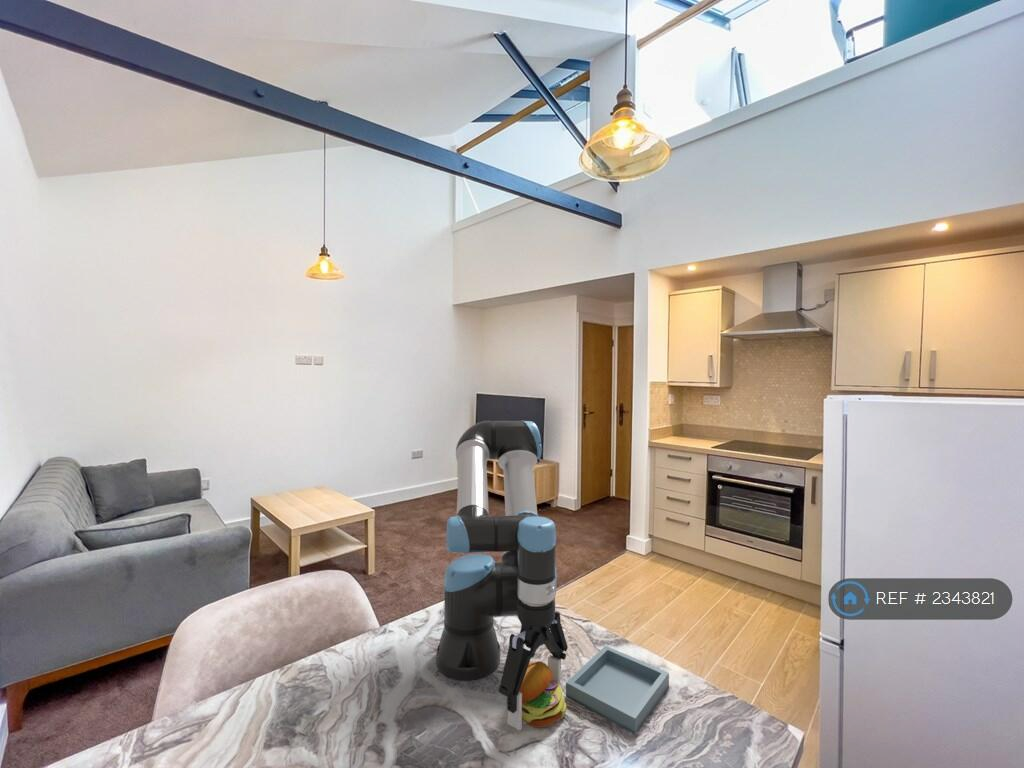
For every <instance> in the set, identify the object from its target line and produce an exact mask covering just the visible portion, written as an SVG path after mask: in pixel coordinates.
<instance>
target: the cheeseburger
mask: <svg viewBox="0 0 1024 768" xmlns="http://www.w3.org/2000/svg"><path fill="white" fill-rule="evenodd" d="M552 677H553V674H552V671H551V669H550V668H549V667H548V664H545V663H544V662H543V661H540V660H539V661H535V662H529V665H528V668H527V671H526V674H525V676H524V679H523V682H522V685H521V688H520V691H519V692H521V693H522V721H523V722H524V723H525V724H527V725H528V726H530V727H534V728H542V727H543V728H544V727H547V726H549V725H550V726H551V725H552V724H554V723H556V722H558V721H559V720H561V719H562V718H564V716H565V715H566V713H567V703H566V702H565V697H564V695H563V689H562V687H561V684H560V685H559V684H558V683H557V681H555V680H553V679H552ZM514 687H515V686H514Z"/></svg>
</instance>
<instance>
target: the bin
mask: <svg viewBox="0 0 1024 768" xmlns="http://www.w3.org/2000/svg"><path fill="white" fill-rule="evenodd" d="M669 687H670V672H669V671H665V670H664V669H662V668H659V667H656V666H654V665H652V664H650V663H648V662H645V661H643V660H640V659H639V658H638V659H637V658H635V657H633V656H630V655H629V654H626V653H623V652H622V651H619V650H617V649H615V648H612V647H609V645H604V646H603V647H602V648H601V649H599V651H598V652H597V653H595V655H594V656H592V657H591V658H590V659H589V660H588V661H587V662H586V663H585V664H584V665H583V666H582V667H581V668H580V669H579V670H578V671H577V672H575V674H574V675H572V677H570V678H569V679H568V680H567V681H566V682H565V698H567V699H568V700H571V701H572V702H574V703H576V704H578V705H580V706H582V707H583V708H585V709H587V710H589V711H590V712H592V713H594V714H596V715H598V716H600V717H602V718H604V719H605V720H607V721H609V722H610V723H612V724H615V725H616V726H618V727H620V728H622V729H624V730H626V731H627V732H629V733H631V734H632V735H634V736H636V734H637V733H638V731H639V730H640V729H641V727H642V726H643V724H645V721H646V720H647V718H649V715H651V714H652V711H653V710H654V708H655V707H656V706H657V705H658V704H659V701H660V700H661V699H662V697H663V696H664V695H665V693H666V691H667V690H668V689H669Z"/></svg>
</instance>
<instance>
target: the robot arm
mask: <svg viewBox="0 0 1024 768" xmlns="http://www.w3.org/2000/svg"><path fill="white" fill-rule="evenodd" d="M542 449H543V448H542V439H541V434H540V430H539V427H538V426H537V424H536V423H535V422H534V421H531V420H522V419H521V420H483V421H479V422H477V423H475V424H473V425H472V426H470V427H469V428H468V429H466V430H465V431H464V432H463V433H462V435H461V436H460V438H459V439H458V441H457V444H456V448H455V458H456V461H457V462H458V480H457V498H456V515H455V516H450V517H448V518H447V520H446V521H447V522H446V537H445V538H446V542H445V543H446V549H447V551H448V552H449V553H458V554H466V555H464V556H461V557H458V558H456V559H454V560H453V561H451V562H450V563H449V564H448V565H447V567H446V569H445V572H444V582H443V590H444V603H443V604H444V605H443V606H444V609H443V615H444V616H443V617H444V618H443V629H442V632H441V636H440V640H439V644H438V645H437V648H436V653H435V656H436V657H435V659H436V661H435V662H436V663H435V664H436V667H437V669H438V670H439V672H440V673H441V674H442V675H444V676H446V677H448V678H451V679H455V680H459V681H472V680H477V679H482V678H484V677H487V676H489V675H491V674H492V673H493V672H494V671H496V669H497V668H498V667H499V665H500V663H501V645H500V643H499V641H498V637H497V633H496V630H495V626H494V617H496V618H497V617H515V616H516V617H517V618H518V621H519V623H520V624H521V626H520V631H519V633H518V634H514V633H513V634H512V633H511V634H510V635H509V640H508V641H509V642H508V643H509V644H508V651H507V655H506V659H505V662H504V665H503V670H502V674H501V679H500V683H499V687H498V692H499V693H500V694H501V695H503V696H505V697H506V709H507V724H508V725H510V726H511V727H513V728H514V729H516V730H517V731H521V730H522V729H523V728H522V726H523V725H522V723H523V722H522V721H523V720H522V693H521V692H519V691H520V688H521V685H522V682H523V679H524V676H525V674H526V671H527V668H528V665H529V663H531V660H532V659H531V658H534V656H535V654H536V652H537V650H538V649H539V648H540V647H541V646H543V645H545V648H546V649H547V650H548V651H549V653H550V654H549V655H548V656H547V666H548V667H549V668H550V669H551V671H552V674H553V677H552V679H553V680H555V681H557V683H558V684H559V685H560V686H561V674H562V673H561V669H562V661H563V660H564V661H565V660H566V658H567V654H566V653H565V652H567V650H568V643H567V640H566V637H565V633H564V630H563V627H562V624H561V613H560V612H558V611H557V610H556V595H557V594H556V593H557V581H558V580H557V579H558V577H557V575H558V574H557V564H556V547H557V546H556V544H557V535H556V525H555V522H554V521H553V519H550V518H548V517H544V516H539V515H538V507H537V498H536V497H537V496H536V495H537V494H536V487H535V478H534V477H535V476H534V467H535V466H536V465H537V464H538V460H539V459H540V458H541V456H542ZM489 460H497V465H498V467H499V468H501V470H502V471H503V487H504V508H505V510H504V511H505V515H489V513H490V511H489V492H488V490H489V489H488V474H487V472H488V469H487V463H488V461H489ZM490 552H491V553H492V552H494V553H495V552H497V553H498V552H499V553H502V554H501V562H495V560H494V558H493V556H492V555H489V554H485V553H490ZM470 553H472V554H470ZM525 647H526V648H528V649H530V650H528V649H526V648H525ZM514 686H515V687H514Z"/></svg>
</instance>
